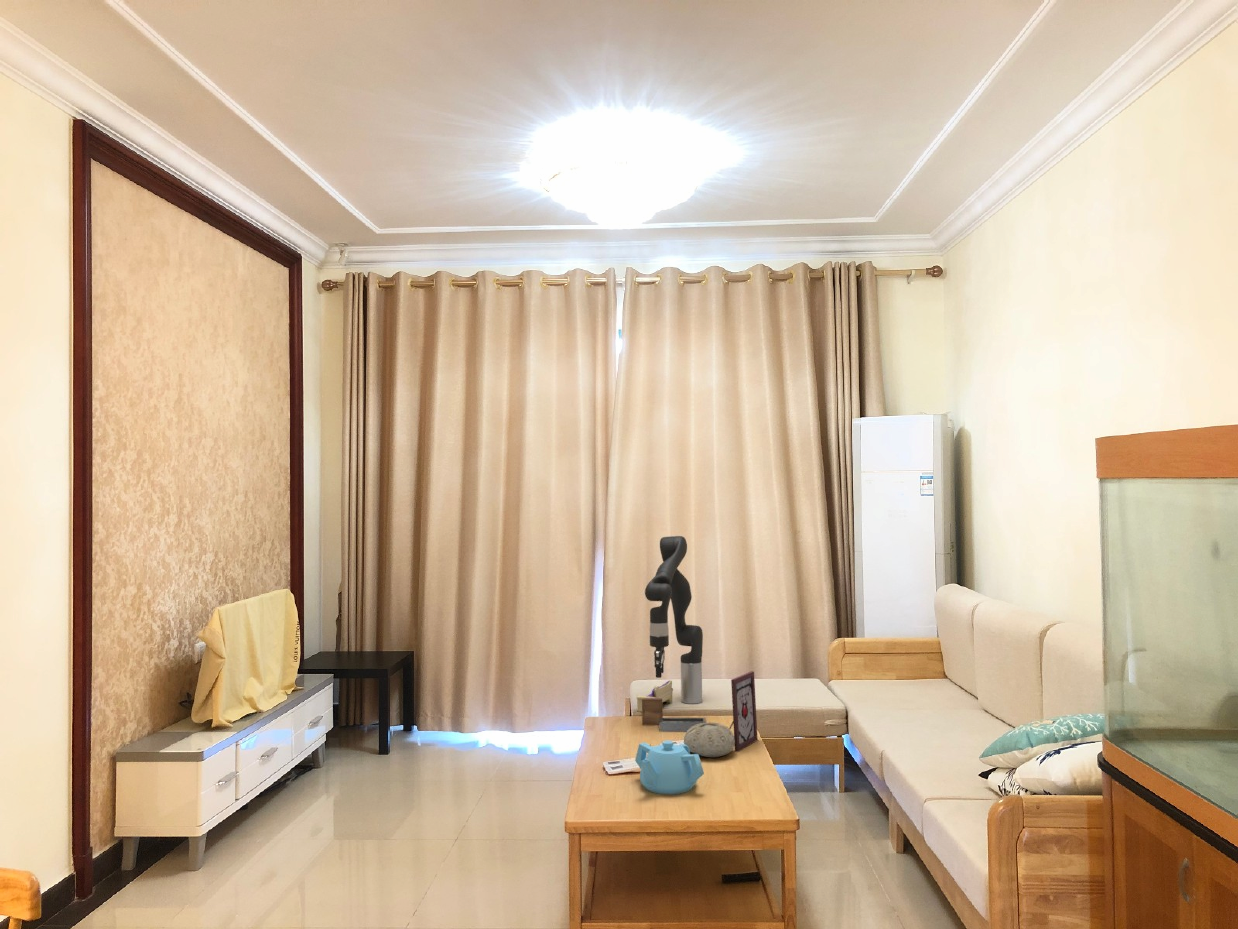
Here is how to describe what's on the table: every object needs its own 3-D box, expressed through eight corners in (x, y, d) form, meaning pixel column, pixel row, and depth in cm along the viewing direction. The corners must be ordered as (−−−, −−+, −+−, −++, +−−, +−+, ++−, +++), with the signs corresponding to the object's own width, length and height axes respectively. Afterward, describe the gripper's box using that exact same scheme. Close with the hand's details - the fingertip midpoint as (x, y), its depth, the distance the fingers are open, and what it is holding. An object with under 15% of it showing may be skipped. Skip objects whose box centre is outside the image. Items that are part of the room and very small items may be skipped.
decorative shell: (705, 765, 283) (704, 735, 283) (673, 752, 298) (672, 723, 298) (745, 755, 293) (744, 726, 293) (712, 743, 307) (711, 715, 308)
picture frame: (737, 751, 297) (736, 680, 298) (712, 747, 302) (711, 677, 303) (757, 740, 310) (756, 671, 311) (733, 736, 316) (732, 669, 317)
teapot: (637, 777, 272) (636, 733, 272) (696, 775, 273) (695, 732, 273) (642, 798, 252) (641, 752, 253) (705, 797, 253) (705, 750, 254)
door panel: (642, 723, 336) (642, 697, 337) (662, 723, 336) (662, 697, 336) (642, 725, 333) (641, 699, 334) (662, 725, 333) (662, 699, 333)
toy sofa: (655, 701, 373) (654, 677, 373) (673, 703, 369) (673, 679, 369) (636, 712, 354) (635, 687, 354) (655, 714, 350) (655, 689, 350)
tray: (659, 726, 331) (659, 717, 331) (706, 726, 329) (705, 717, 330) (659, 731, 324) (659, 722, 324) (706, 731, 322) (706, 722, 323)
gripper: (651, 631, 342) (652, 671, 341) (647, 636, 328) (648, 679, 327) (670, 631, 341) (670, 671, 340) (666, 637, 327) (667, 679, 326)
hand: (659, 675), depth 334 cm, fingers open, 8 cm apart
